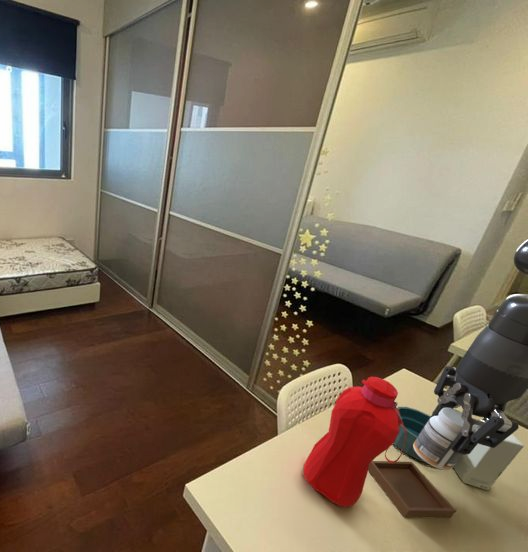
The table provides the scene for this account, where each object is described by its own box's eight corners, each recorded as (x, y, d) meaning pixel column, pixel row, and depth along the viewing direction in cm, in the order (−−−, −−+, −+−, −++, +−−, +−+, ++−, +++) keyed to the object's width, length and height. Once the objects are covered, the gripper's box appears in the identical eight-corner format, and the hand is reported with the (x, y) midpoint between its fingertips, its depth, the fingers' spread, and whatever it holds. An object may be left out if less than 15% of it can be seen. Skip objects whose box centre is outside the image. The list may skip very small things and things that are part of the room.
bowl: (427, 432, 77) (439, 415, 75) (455, 474, 67) (469, 456, 65) (375, 417, 80) (385, 400, 78) (394, 455, 70) (406, 437, 68)
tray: (406, 468, 67) (411, 461, 67) (450, 517, 59) (456, 510, 58) (365, 467, 66) (369, 460, 66) (403, 517, 58) (409, 510, 57)
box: (488, 491, 64) (527, 448, 59) (462, 483, 66) (498, 439, 60) (472, 468, 69) (507, 426, 64) (447, 461, 70) (480, 418, 65)
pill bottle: (439, 448, 61) (468, 410, 56) (459, 476, 55) (492, 436, 51) (405, 439, 62) (431, 401, 58) (421, 465, 57) (450, 425, 53)
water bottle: (361, 526, 56) (432, 424, 45) (296, 479, 62) (345, 381, 52) (370, 490, 62) (434, 393, 52) (310, 451, 69) (357, 358, 58)
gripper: (576, 400, 42) (501, 481, 49) (499, 341, 55) (448, 413, 62) (506, 382, 44) (444, 463, 51) (447, 330, 57) (403, 400, 64)
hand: (446, 435), depth 56 cm, fingers closed on pill bottle, 5 cm apart
